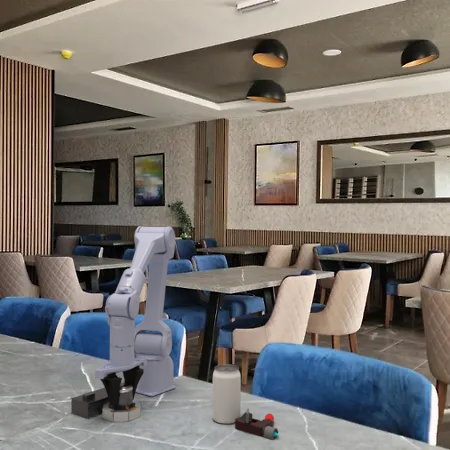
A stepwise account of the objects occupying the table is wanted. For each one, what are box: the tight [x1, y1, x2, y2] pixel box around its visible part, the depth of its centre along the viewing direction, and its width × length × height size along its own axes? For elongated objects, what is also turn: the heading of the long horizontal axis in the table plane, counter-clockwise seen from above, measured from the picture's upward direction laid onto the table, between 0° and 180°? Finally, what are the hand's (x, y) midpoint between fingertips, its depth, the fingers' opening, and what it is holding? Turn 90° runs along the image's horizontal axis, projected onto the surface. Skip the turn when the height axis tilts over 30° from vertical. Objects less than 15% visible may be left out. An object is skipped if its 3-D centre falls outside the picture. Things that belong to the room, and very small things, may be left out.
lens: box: [114, 382, 133, 410], centre depth 127 cm, size 5×5×6 cm
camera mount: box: [70, 387, 141, 423], centre depth 129 cm, size 13×15×4 cm
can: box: [211, 363, 242, 425], centre depth 125 cm, size 6×6×12 cm
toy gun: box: [234, 408, 281, 440], centre depth 120 cm, size 10×12×5 cm
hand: (121, 402), depth 127 cm, fingers closed on lens, 4 cm apart
